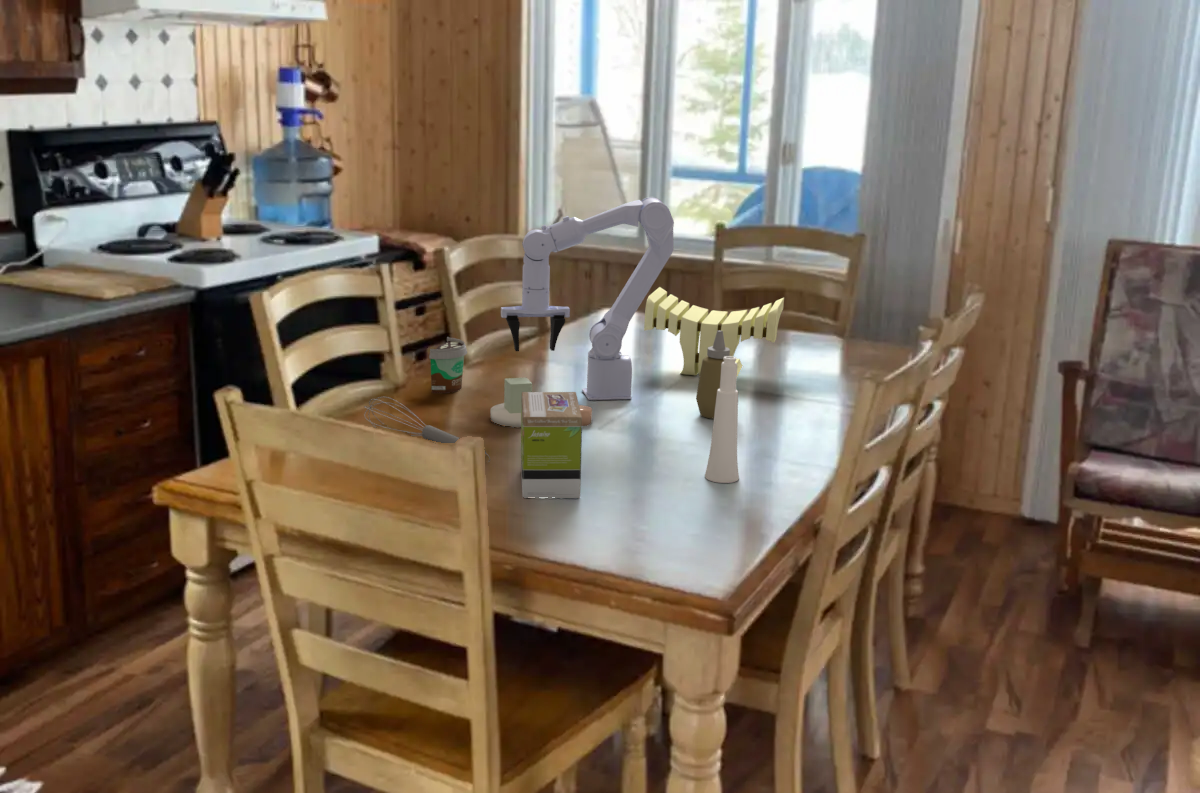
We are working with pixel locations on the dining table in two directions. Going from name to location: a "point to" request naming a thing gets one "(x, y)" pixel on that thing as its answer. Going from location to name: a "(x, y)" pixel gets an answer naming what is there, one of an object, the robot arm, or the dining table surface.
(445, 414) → the dining table surface
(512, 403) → the sage block
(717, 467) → the cosmetic bottle
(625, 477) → the dining table surface
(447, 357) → the food container
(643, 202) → the robot arm
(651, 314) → the slatted curved stool
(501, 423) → the stand
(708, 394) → the squeeze bottle
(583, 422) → the tan rounded knob
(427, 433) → the kitchen whisk
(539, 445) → the tea box
